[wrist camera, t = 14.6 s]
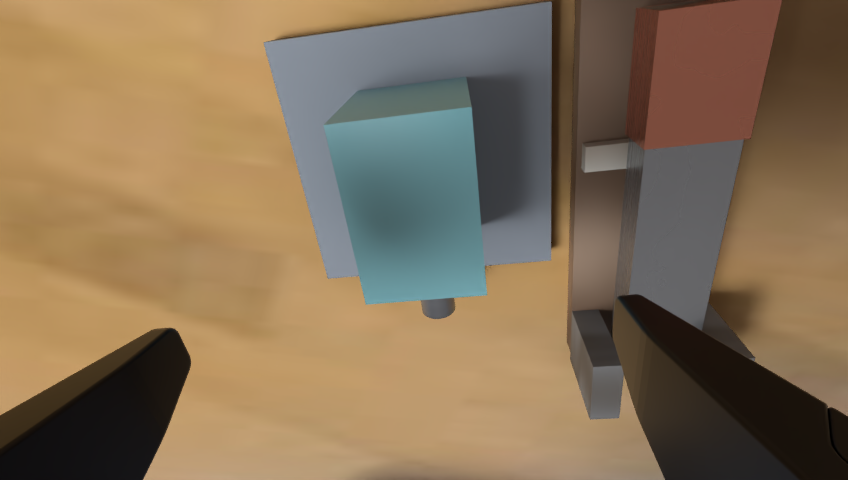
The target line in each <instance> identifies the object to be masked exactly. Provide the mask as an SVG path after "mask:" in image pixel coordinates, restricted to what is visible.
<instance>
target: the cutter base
mask: <svg viewBox="0 0 848 480" xmlns="http://www.w3.org/2000/svg"><path fill="white" fill-rule="evenodd" d="M684 1H691V0H575V40H574V80H573V120H572V160H571V200H570V240H569V280H568V320H567V343H568V346H569V349H570V352H571V356H570V360H571V363H572V366H573V369H574V372H575V375H576V378H577V381H578V384H579V387H580V390H581V393H582V397H583V400H584V403H585V406H586V409H587V412H588V415H589V418H590V419H610V418H619V414H620V405H621V396H622V386H623V377H624V373H623V369H622V366H621V363H620V360H619V356H618V353H617V350H616V347H615V344H614V342H613V339H612V337H611V325H612V315H613V304H614V293H615V282H616V272H617V261H618V250H619V239H620V229H621V218H622V207H623V197H624V186H625V175H626V164H627V154H628V143H629V137H628V136H627V135H626V134H625V127H626V115H627V104H628V93H629V81H630V70H631V59H632V47H633V36H634V25H635V14H636V8H640V7H647V6H655V5H662V4H669V3H676V2H684ZM742 147H743V146H742ZM702 331H703V332H705V333H707V334H708V335H710V336H712V337H713V338H715V339H717V340H719V341H720V342H722V343H724V344H725V345H727V346H729V347H730V348H732V349H734V350H736V351H737V352H739V353H741V354H742V355H744V356H746V357H747V358H749V359H751V360H753V361H755V357H754V356H753V355H752V354H751V352H750V351H749V350H748V349H747V348H746V346H745V345H744V344H743V343H742V342H741V340H740V339H739V338H738V337H737V336H736V334H735V333H734V332H733V331H732V330H731V329H730V327H729V326H728V325H727V324H726V323H725V321H724V320H723V319H722V318H721V317H720V315H719V314H718V313H717V312H716V311H715V310H714V308H713V307H712V306H711V305H710V304H709V302H708V305H707V310H706V314H705V319H704V323H703V328H702Z"/></svg>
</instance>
